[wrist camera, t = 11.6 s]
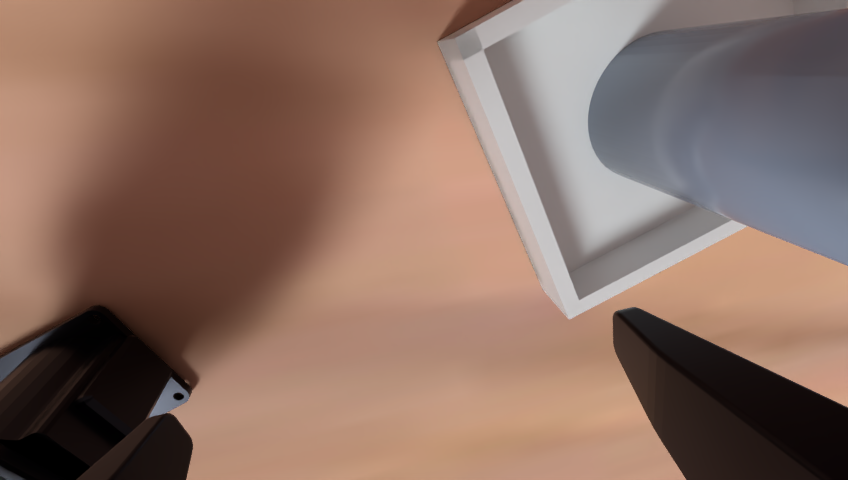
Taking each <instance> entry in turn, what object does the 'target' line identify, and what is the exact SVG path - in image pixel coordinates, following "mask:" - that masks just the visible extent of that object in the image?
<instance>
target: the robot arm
mask: <svg viewBox="0 0 848 480" xmlns="http://www.w3.org/2000/svg"><path fill="white" fill-rule="evenodd" d="M93 315H97V316H98V317H100V319H101V320H99V319H96V318H94V316H93ZM613 344H614V349H615V352H616V354H617V357H618V359H619V361H620V363H621V365H622V367H623V369H624V371H625V373H626V375H627V377H628V379H629V381H630V383H631V385H632V387H633V389H634V390H635V392H636V394H637V396H638V398H639V400H640V402H641V404H642V406H643V408H644V410H645V412H646V414H647V416H648V418H649V420H650V422H651V424H652V426H653V428H654V429H655V431H656V433H657V434H658V436H659V438H660V439H661V441H662V442H663V444H664V446H665V447H666V449H667V450H668V452H669V453H670V455H671V456H672V458H673V460H674V461H675V463H676V464H677V466H678V467H679V469H680V470H681V472H682V474H683V475H684V477H685V478H686V480H848V407H846V406H843V405H841V404H839V403H837V402H835V401H833V400H831V399H829V398H827V397H825V396H822V395H820V394H818V393H816V392H814V391H812V390H810V389H808V388H806V387H804V386H801V385H799V384H797V383H795V382H793V381H791V380H789V379H787V378H785V377H782V376H780V375H778V374H776V373H774V372H772V371H770V370H768V369H766V368H764V367H761V366H759V365H757V364H755V363H753V362H751V361H749V360H747V359H745V358H742V357H740V356H738V355H736V354H734V353H732V352H730V351H728V350H726V349H724V348H721V347H719V346H717V345H715V344H713V343H711V342H709V341H707V340H705V339H703V338H700V337H698V336H696V335H694V334H692V333H690V332H688V331H686V330H684V329H681V328H679V327H677V326H675V325H673V324H671V323H669V322H667V321H665V320H663V319H660V318H658V317H656V316H654V315H652V314H650V313H648V312H646V311H644V310H642V309H639V308H636V307H632V308H627V309H623V310H618V311H616V312H615V313H614V315H613ZM178 393H182V394H183V395H180V394H178ZM191 393H192V389H191V388H190V386H189V385H188V384H187V383H186V382H185V381H183V380H182V379H181V378H180V377H179V376H178V375H177V374H176V373H175V372H174V371H173V370H172V369H171V368H170V367H169V366H168V365H167V364H165V363H164V362H163V361H162V360H161V359H160V358H159V357H158V356H157V355H156V354H155V353H154V352H153V351H152V350H151V349H150V348H148V347H147V346H146V345H145V344H144V343H143V342H142V341H141V340H140V339H139V338H138V337H137V336H136V335H135V334H134V333H133V332H132V331H130V330H129V329H128V328H127V327H126V326H125V325H124V324H123V323H122V322H121V321H120V320H119V319H118V318H117V317H116V316H115V315H113V314H112V313H111V312H110V311H109V310H108V309H107V308H105V307H102V306H92V307H90V308H88V309H86V310H84V311H83V312H81V313H79V314H77V315H75V316H73V317H72V318H70V319H68V320H66V321H64V322H62V323H61V324H59V325H57V326H55V327H53V328H51V329H50V330H48V331H46V332H44V333H42V334H40V335H39V336H37V337H35V338H33V339H31V340H29V341H28V342H26V343H24V344H22V345H20V346H18V347H17V348H15V349H13V350H11V351H9V352H7V353H5V354H4V355H2V356H0V480H186V478H187V473H188V469H189V464H190V460H191V455H192V450H193V443H192V439H191V437H190V435H189V434H188V433H187V432H186V430H185V429H184V428H183V426H182V425H181V424H180V422H179V421H178V420H177V418H176V417H175V416H174V415H172V414H170V413H167V412H169V411H170V410H172V409H174V408H176V407H178V406H180V405H182V404H184V403H185V402H187V401H188V399H189V397H190V395H191Z"/></svg>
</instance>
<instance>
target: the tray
mask: <svg viewBox="0 0 848 480" xmlns="http://www.w3.org/2000/svg"><path fill="white" fill-rule="evenodd" d="M846 8H848V0H512V1H510V2H508V3H507V4H505V5H503V6H501V7H499V8H497V9H496V10H494V11H492V12H490V13H488V14H487V15H485V16H483V17H481V18H479V19H478V20H476V21H474V22H472V23H470V24H468V25H467V26H465V27H463V28H461V29H459V30H458V31H456V32H454V33H452V34H450V35H448V36H447V37H445V38H443V39H441V40H439V41H438V42H437V43H438V45H439V48H440V50H441V52H442V55H443V57H444V59H445V62H446V64H447V66H448V69H449V71H450V73H451V76H452V78H453V80H454V83H455V85H456V87H457V90H458V92H459V95H460V97H461V99H462V102H463V104H464V106H465V109H466V111H467V113H468V116H469V118H470V120H471V123H472V125H473V127H474V130H475V132H476V134H477V137H478V139H479V141H480V144H481V146H482V148H483V151H484V153H485V155H486V158H487V160H488V162H489V165H490V167H491V170H492V172H493V174H494V177H495V179H496V181H497V184H498V186H499V188H500V191H501V193H502V195H503V198H504V200H505V202H506V205H507V207H508V209H509V212H510V214H511V216H512V219H513V221H514V223H515V226H516V228H517V230H518V233H519V235H520V238H521V240H522V242H523V245H524V247H525V249H526V252H527V254H528V256H529V259H530V261H531V263H532V266H533V268H534V270H535V273H536V275H537V277H538V280H539V282H540V284H541V287H542V289H543V290H544V292H545V293H546V294H547V295H548V296H549V297H550V298H551V300H552V301H553V302H554V303H555V304H556V305H557V306H558V308H559V309H560V310H561V311H562V312H563V313H564V314H565V316H566V317H567V318H568V319H571V318H573V317H575V316H577V315H579V314H581V313H583V312H585V311H586V310H588V309H590V308H592V307H594V306H596V305H598V304H600V303H602V302H604V301H606V300H608V299H609V298H611V297H613V296H615V295H617V294H619V293H621V292H623V291H625V290H627V289H629V288H630V287H632V286H634V285H636V284H638V283H640V282H642V281H644V280H646V279H648V278H650V277H651V276H653V275H655V274H657V273H659V272H661V271H663V270H665V269H667V268H669V267H671V266H672V265H674V264H676V263H678V262H680V261H682V260H684V259H686V258H688V257H690V256H692V255H693V254H695V253H697V252H699V251H701V250H703V249H705V248H707V247H709V246H711V245H713V244H714V243H716V242H718V241H720V240H722V239H724V238H726V237H728V236H730V235H732V234H734V233H736V232H737V231H739V230H741V229H743V228H745V227H747V226H746V225H744V224H741V223H738V222H736V221H733V220H731V219H728V218H726V217H723V216H721V215H718V214H716V213H713V212H711V211H708V210H706V209H703V208H701V207H698V206H696V205H693V204H691V203H688V202H685V201H683V200H680V199H678V198H675V197H673V196H670V195H668V194H665V193H663V192H660V191H658V190H655V189H653V188H650V187H648V186H645V185H643V184H640V183H637V182H635V181H632V180H630V179H627V178H625V177H622V176H620V175H618V174H616V173H614V172H612V171H611V170H609V169H608V168H606V167H605V166H604V165H603V164H602V163H601V161H600V160H599V159H598V157H597V156H596V154H595V152H594V150H593V148H592V145H591V142H590V138H589V132H588V112H589V106H590V101H591V98H592V95H593V91H594V89H595V87H596V84H597V82H598V80H599V78H600V77H601V75H602V73H603V71H604V70H605V69H606V67H607V66H608V64H609V63H610V62H611V61H612V60H613V58H614V57H615V56H616V55H617V54H618V53H619V52H620V51H621V50H622V49H624V48H625V47H626V46H628V45H629V44H630V43H632V42H633V41H635V40H637V39H639V38H640V37H642V36H645V35H647V34H650V33H654V32H658V31H664V30H672V29H680V28H689V27H697V26H705V25H713V24H722V23H730V22H738V21H746V20H755V19H763V18H771V17H780V16H788V15H796V14H804V13H813V12H821V11H829V10H837V9H846Z"/></svg>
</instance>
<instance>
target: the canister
mask: <svg viewBox="0 0 848 480" xmlns="http://www.w3.org/2000/svg"><path fill="white" fill-rule="evenodd" d="M588 132H589V138H590V142H591V145H592V148H593V150H594V152H595V154H596V156H597V157H598V159H599V160H600V161H601V163H602V164H603V165H604V166H605V167H606V168H608V169H609V170H611V171H612V172H614V173H616V174H618V175H620V176H622V177H625V178H627V179H630V180H632V181H635V182H637V183H640V184H643V185H645V186H648V187H650V188H653V189H655V190H658V191H660V192H663V193H665V194H668V195H670V196H673V197H675V198H678V199H680V200H683V201H685V202H688V203H691V204H693V205H696V206H698V207H701V208H703V209H706V210H708V211H711V212H713V213H716V214H718V215H721V216H723V217H726V218H728V219H731V220H733V221H736V222H738V223H741V224H744V225H746V226H749V227H751V228H754V229H756V230H759V231H761V232H764V233H766V234H769V235H771V236H774V237H776V238H779V239H781V240H784V241H786V242H789V243H792V244H794V245H797V246H799V247H802V248H804V249H807V250H809V251H812V252H814V253H817V254H819V255H822V256H824V257H827V258H829V259H832V260H834V261H837V262H840V263H842V264H845V265H847V266H848V8H846V9H837V10H829V11H821V12H813V13H804V14H796V15H788V16H780V17H771V18H763V19H755V20H746V21H738V22H730V23H722V24H713V25H705V26H697V27H689V28H680V29H672V30H664V31H658V32H654V33H650V34H647V35H645V36H642V37H640V38H639V39H637V40H635V41H633V42H632V43H630V44H629V45H628V46H626V47H625V48H624V49H622V50H621V51H620V52H619V53H618V54H617V55H616V56H615V57H614V58H613V60H612V61H611V62H610V63H609V64H608V66H607V67H606V69H605V70H604V71H603V73H602V75H601V77H600V78H599V80H598V82H597V84H596V87H595V89H594V91H593V95H592V98H591V101H590V106H589V112H588Z"/></svg>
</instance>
